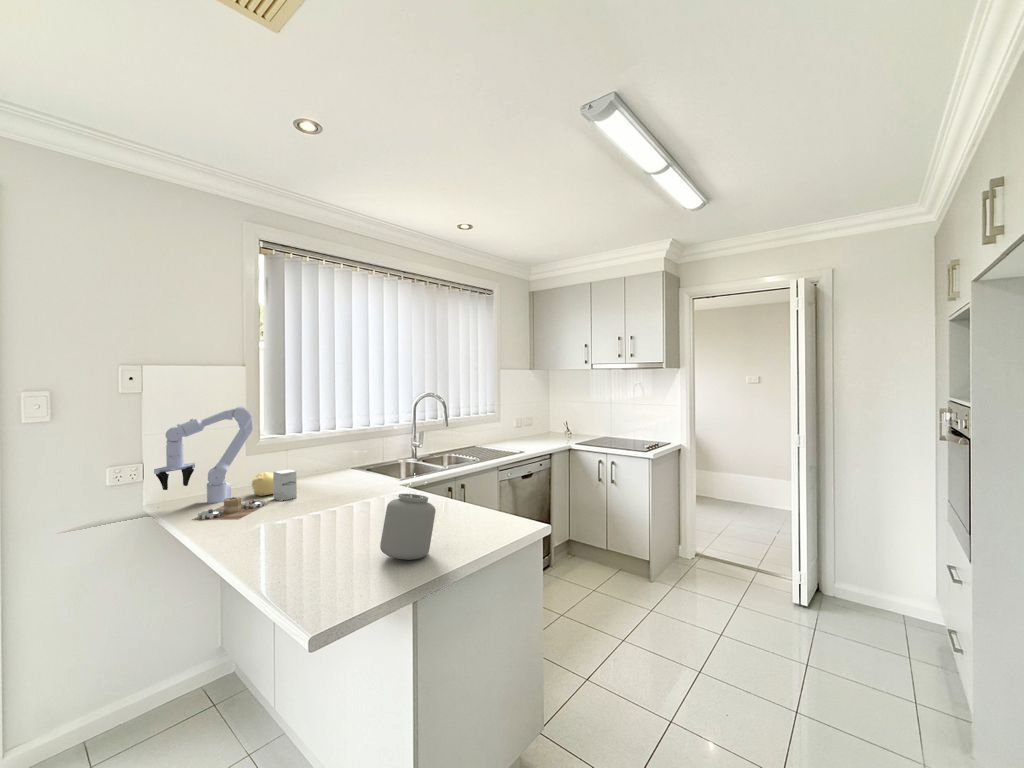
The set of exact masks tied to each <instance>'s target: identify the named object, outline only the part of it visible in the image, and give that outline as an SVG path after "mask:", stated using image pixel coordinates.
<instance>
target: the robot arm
mask: <svg viewBox="0 0 1024 768" xmlns="http://www.w3.org/2000/svg"><path fill="white" fill-rule="evenodd" d="M252 417H253V416H252V414H251V412H250V410H249V409H248V408H246V407H244V406H237V407H236V408H230V409H226V410H223V411H220V412H218V413H215V414H214V415H211V416H208V417H205V418H203V419H199V418H195V419H194V418H190V419H189V421H186V422H184V423H181V424H180V423H177V424H176V426H173V427H170V428H169V429H167V430H166V432H165V438H166V445H165V449H166V450H165V451H166V452H165V453H166V455H165V457H166V459H165V460H166V466H161V467H159V468H154V469H153V474H154V475H155V476H156V477H157V478H158V481H159V482H160V485H161V487H162V490H163V491H168V489H169V488H168V487H169V483H168V482H169V476H170V474H169V472H175V471H180V470H181V473H182V485H183V487H188V485H189V482H190V479H191V477H192V474H193V473H194V471H195V468H196V462H189V463H184V443H183V437H184V438H185V437H187V438H188V437H191V436H193V435H195V434H197V433H200V432H203V431H204V429H205V427H207V426H210V425H213V424H216V423H218V422H221V421H224V420H228V421H229V420H230V421H233V419H234V420H235V422H237V425H238V427H239V430H238V431H237V433H236V434H235V436H234V438H233V439H232V441H231V442H230V444H229V445H228V447H227V448H226V450H225V452H224V453H223V455H222V456H221V457H220V459H219V461H218V462H216V465H215V466H214V467H213V468H211V469H210V470H208V473H207V481H208V483H206V503H207V504H217V503H224V499H227V498H231V497H232V486H231V484H230V483H229V482H228V481H226V480H225V479H226V474H227V472H228V470H229V468H230V466H231V465H232V463H233V461H234V460H235V458H236V457H237V455H238V453H239V452H240V451H241V449H242V447H243V446H244V444H245V443H246V442H247V440H248V438H249V436H250V435H251V433H252V432H253V418H252Z"/></svg>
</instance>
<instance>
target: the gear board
mask: <svg viewBox="0 0 1024 768" xmlns="http://www.w3.org/2000/svg"><path fill="white" fill-rule="evenodd" d="M269 504H271V503H270V502H268V503H267V502H265V505H264V506H262V507H257V508H255V509H253V508H250V509H246V508H245V509H242V503H241V511H239V512H235V513H225V512H224V515H222V516H220V517H218V518H217V517H215V518H213V519H210V518H209V519H205V520H204V521H224V520H225V521H227V520H228V521H230V520H232V521H233V520H234V521H236V520H240V519H242V518H244V517H246V516H248V515H250V514H252V513H254V512H256V511H257V510H260V509H262V508H264V507H266V506H268V505H269ZM216 509H219V510H223V511H224V505H222V506H220V507H217V508H215V509H214V510H216ZM191 521H203V520H202V519H198V516H197V517H195V518H192V519H191Z"/></svg>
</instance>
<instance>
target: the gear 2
mask: <svg viewBox="0 0 1024 768" xmlns="http://www.w3.org/2000/svg"><path fill="white" fill-rule="evenodd" d="M265 503H266V502H265V500H263V499H262V500H260V499H257V500H256V499H251V500H249V501H245V502H244V503H243V502H241V504H242V509H245V508H246V509H250V508H253V509H255V508H257V507H262V506H264V505H265ZM264 507H265V506H264ZM262 508H263V507H262Z"/></svg>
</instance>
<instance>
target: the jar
mask: <svg viewBox="0 0 1024 768" xmlns="http://www.w3.org/2000/svg"><path fill="white" fill-rule="evenodd" d="M413 478H416V473H415V472H414V475H413ZM416 483H419V481H417V482H416ZM427 483H428V482H427V481H425V484H427ZM409 485H412V482H411V483H409ZM409 485H407V486H406V487H407V490H408V489H409ZM403 492H406V490H404V491H403ZM397 496H398V497H397ZM396 497H397V499H396V498H395V499H392V500H391V501H389V502H388V503H387V506H386V509H385V516H384V520H383V527H382V532H381V538H380V543H379V545H380V546H379V549H380V550H381V552H382V553H383V554H384V555H386V556H388V557H390V558H392V559H399V560H407V561H408V560H411V561H412V560H420V559H423V558H424V557H425V556H427V555H428V554H429V553H430V549H431V548H430V547H431V543H432V539H433V538H434V537H433V530H434V524H435V523H434V522H435V517H436V507H435V506H434V505H433V504H432V503H430V502H429V497H428V496H425V495H420V494H417V493H415V494H414V493H399V494H398V495H396ZM436 535H437V534H435V536H436Z"/></svg>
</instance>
